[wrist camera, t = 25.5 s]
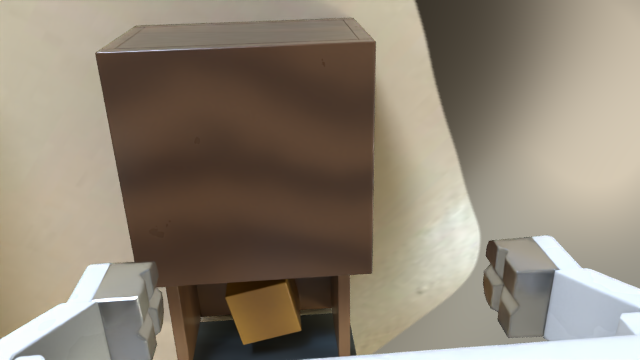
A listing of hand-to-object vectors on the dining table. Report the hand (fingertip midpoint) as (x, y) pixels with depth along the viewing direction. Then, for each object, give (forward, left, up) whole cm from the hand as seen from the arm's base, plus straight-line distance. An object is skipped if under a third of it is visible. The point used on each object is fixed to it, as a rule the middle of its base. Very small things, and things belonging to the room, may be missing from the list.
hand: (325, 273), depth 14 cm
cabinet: (-3, -5, -27) cm, 28 cm away
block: (-3, -17, -25) cm, 30 cm away
